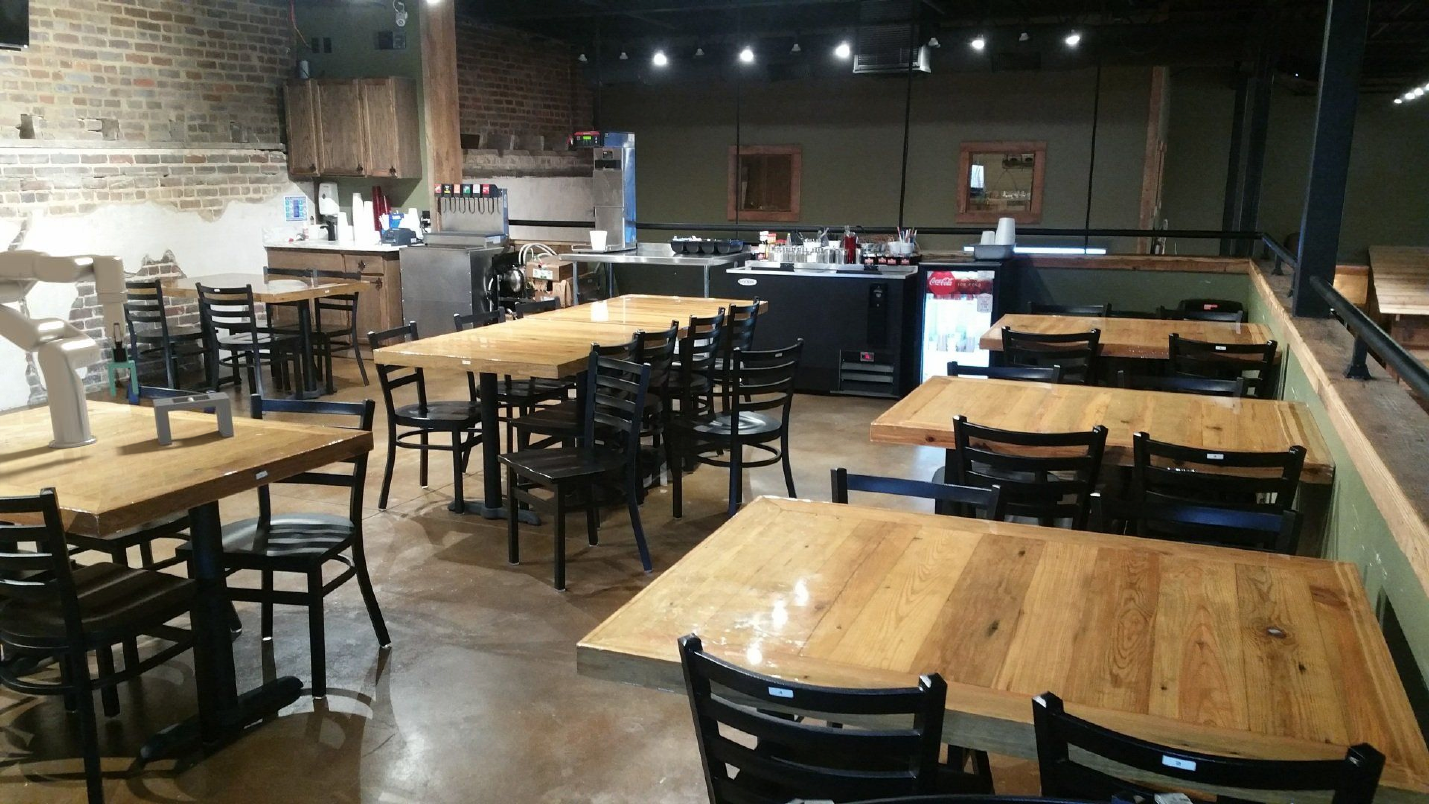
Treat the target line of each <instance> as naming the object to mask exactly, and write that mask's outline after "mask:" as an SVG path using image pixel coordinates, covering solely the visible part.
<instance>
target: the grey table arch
mask: <svg viewBox="0 0 1429 804" xmlns="http://www.w3.org/2000/svg"><path fill="white" fill-rule="evenodd" d="M152 404H153V412H154V413H153V414H154V420H155V421H154V422H155V427H156V435H157V439H158V442H159V444H160V446H169V445H173V440H172V439H173V438H172V433H171V432H172V431H171V425H170V416H169V412H175V411H176V412H177V411H184V410H185V411H186V410H193V409H202V408H212V407H215V413H216V421H217V422H216V423H217V429H218V432H219V433H220V435H221V436H222V437H223V438H224V439H225V438H231V437H232V438H233V437H235V432H234V425H233V424H234V423H233V416H232V415H233V414H232V406H231V398H230V397H229V395H228V394H227V393H226V392H225V391H221V392H212V393H203V394H194V395H193V394H192V395H185V396H182V395H181V396H174V397H166V398H165V397H164V398H155V399H152Z"/></svg>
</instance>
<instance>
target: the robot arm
mask: <svg viewBox="0 0 1429 804" xmlns="http://www.w3.org/2000/svg"><path fill="white" fill-rule="evenodd" d="M125 276H126V275H125V269H124V262H123V259H122V257H120V256H119V255H99V254H92V253H91V254H89V253H88V254H79V255H77V254H76V255H68V256H53V255H51V254H50V253H47V252H45V251H36V250H34V249H18V250H17V249H16V250H5V251H1V252H0V336H2V337H3V338H5V340H8V341H9V342H11V343H12V344H14V345H16V346H17V347H18V348H20V349H22V350H23V351H25V352H29V353H37V362H38V364H39V365H38V366H39V367H40V370H41V372H42V375H43V380H44V384H45V389H46V395H47V400H48V408H49V413H50V420H51V421H50V422H51V425H52V426H51V427H52V432H53V433H52V434H53V439H52V440H50V441H49V442H48V446H49V447H50V448H53V449H67V448H70V449H71V448H78V447H83V446H88V445H91V444H94V443H97V442H98V441H99V439H98V436H97V435H93V434H92V431H91V426H90V420H89V418H90V417H89V413H88V412H89V411H88V406H87V405H88V404H87V397H86V392H85V385H84V382H83V380H82V378H81V377H80V375H79V374H78V372H77V371H76V370H78V369H82V368H86V367H90V366H93V365H94V364H96V363H97V362H99V361H100V357H101V348H100V345H99V344H98V343H97V341H96V340H95V339H94V338H92V337H91V336H89V335H88V334H87V333H85V332H84V331H82V330H80V329H78V328H77V327H76V326H74V325H73V324H71V323H69V322H68V321H66V320H65V319H62V318H57V317H45V318H44V317H43V318H39V319H38V318H36V319H35V318H31V317H29V316H27V315H26V314H24V313H22V312H21V311H20V310H18V309H15V308H13V307H11V306H8V305H4V304H10V303H11V304H12V303H16V302H19V301H21V300H22V299H24V298H25V297H26V296H27V295H28V294H29V293H30V292H31V290H32V289H33V288H34V287H35V286H36V285H37V283H38V282H42V283H55V284H57V283H58V284H73V283H74V284H75V283H79V282H90V281H94V282H95V283H94V284H95V289H96V291H95V292H96V298H97V305H100V306H102V316H103V323H104V332H105V336H106V337H105V338H106V339H107V340H110V338H111V340H112V341H111V342H112V343H111V344H112V345H113V347H114V349H113V354H114V362H126V361H127V356H126V349H125V348H124V344H125V342H124V341H125V340H124V338H126V336H127V335H126V333H127V332H126V331H127V327H126V317H125V316H126V315H125V307H124V304H128V303H129V302H128V301H129V300H128V294H127V287H126V285H127V284H126V279H125ZM115 345H116V346H115Z"/></svg>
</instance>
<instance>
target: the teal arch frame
mask: <svg viewBox="0 0 1429 804" xmlns="http://www.w3.org/2000/svg"><path fill="white" fill-rule="evenodd" d="M115 346H116V345H115ZM124 348H125V349H126V356H127V361H126V362H114V354H113V349H114V347H113V344H110V350H111V351H110V353H111V359H112V361H110V362H109V361H107V362H106V365H107V366H106V367H107V368H106V369H107V375H108V376H107V377H108V381H109V390H110V396H111V397H117V393H116V384H115V376H114V370H118V369H129V368H130V376H131V383H132V384H131V385H132V391H133V395H139V385H138V378H137V377H138V376H137V369H136V363H135V360H129V353H128V352H129V351H128V346H127V343H124Z"/></svg>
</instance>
